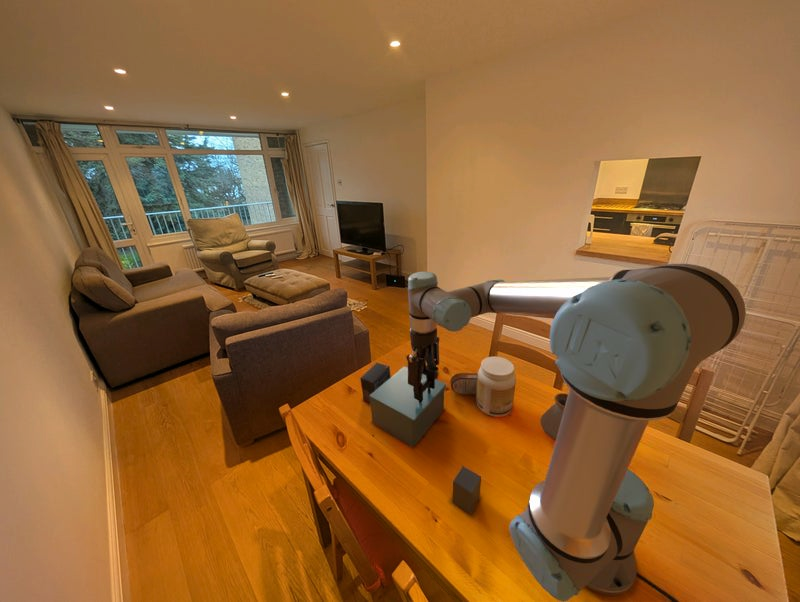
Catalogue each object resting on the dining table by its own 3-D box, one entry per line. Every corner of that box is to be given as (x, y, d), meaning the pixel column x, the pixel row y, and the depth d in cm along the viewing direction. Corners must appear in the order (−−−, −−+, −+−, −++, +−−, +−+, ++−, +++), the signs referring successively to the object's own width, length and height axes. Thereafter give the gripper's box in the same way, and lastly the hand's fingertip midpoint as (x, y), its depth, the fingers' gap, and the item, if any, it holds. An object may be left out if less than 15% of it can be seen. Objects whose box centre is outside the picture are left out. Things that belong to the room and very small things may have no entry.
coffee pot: (537, 439, 88) (544, 401, 82) (540, 413, 98) (547, 377, 92) (623, 469, 79) (639, 428, 73) (618, 437, 88) (632, 398, 82)
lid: (446, 385, 97) (446, 370, 94) (414, 422, 83) (413, 405, 81) (404, 367, 107) (403, 353, 104) (369, 397, 93) (367, 381, 91)
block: (479, 497, 74) (481, 476, 71) (470, 514, 70) (472, 493, 67) (461, 486, 77) (462, 465, 74) (452, 502, 73) (453, 481, 70)
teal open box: (443, 409, 101) (444, 385, 97) (412, 447, 88) (411, 420, 84) (405, 391, 111) (404, 367, 107) (372, 422, 98) (369, 397, 93)
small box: (378, 383, 116) (376, 361, 112) (392, 388, 113) (390, 366, 108) (362, 400, 108) (359, 377, 103) (376, 406, 105) (374, 382, 100)
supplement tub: (518, 403, 102) (524, 363, 95) (502, 424, 94) (508, 382, 87) (485, 388, 110) (489, 350, 103) (469, 406, 102) (471, 366, 95)
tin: (490, 390, 109) (492, 372, 105) (492, 396, 106) (494, 377, 102) (449, 390, 110) (450, 371, 107) (450, 395, 107) (451, 377, 104)
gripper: (430, 311, 90) (430, 372, 99) (391, 338, 76) (396, 406, 86) (452, 317, 85) (450, 380, 95) (414, 347, 72) (417, 417, 81)
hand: (424, 392), depth 90 cm, fingers closed on lid, 6 cm apart
